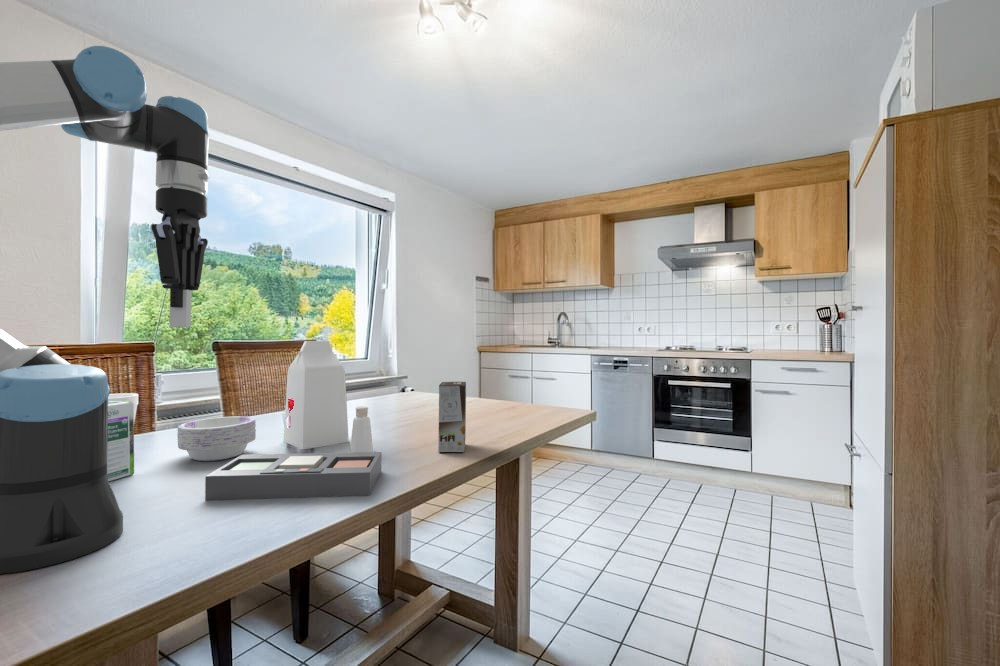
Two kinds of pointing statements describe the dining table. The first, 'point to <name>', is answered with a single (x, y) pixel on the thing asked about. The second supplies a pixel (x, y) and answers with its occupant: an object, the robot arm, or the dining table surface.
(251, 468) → the sage key
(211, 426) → the paper bowls
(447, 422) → the coffee box
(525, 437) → the dining table surface
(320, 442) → the milk
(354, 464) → the terracotta key
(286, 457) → the keypad
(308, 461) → the cream key
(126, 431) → the syrup box
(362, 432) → the pepper shaker
